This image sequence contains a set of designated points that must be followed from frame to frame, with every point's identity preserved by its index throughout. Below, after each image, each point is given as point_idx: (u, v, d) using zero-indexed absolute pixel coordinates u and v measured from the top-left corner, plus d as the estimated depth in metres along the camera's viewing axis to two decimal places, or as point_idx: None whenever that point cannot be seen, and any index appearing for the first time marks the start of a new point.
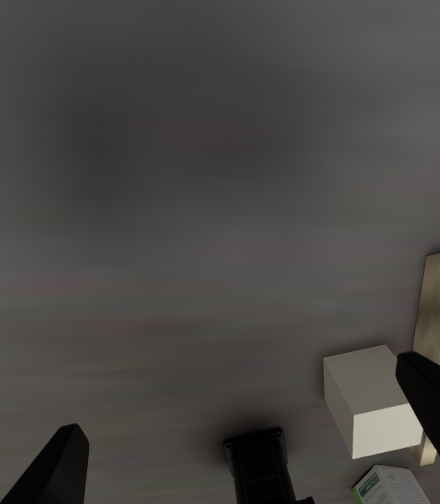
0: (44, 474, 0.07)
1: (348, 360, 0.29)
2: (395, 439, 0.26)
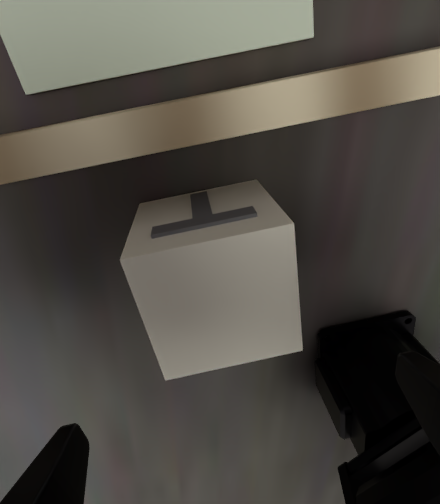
0: (44, 474, 0.07)
1: None
2: (259, 286, 0.12)
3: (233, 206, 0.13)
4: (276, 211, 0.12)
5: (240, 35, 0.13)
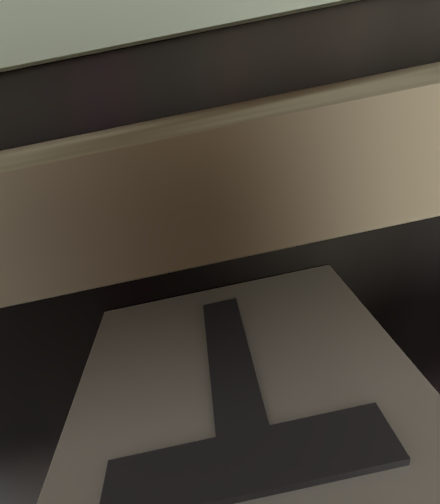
0: None
1: None
2: None
3: (313, 378, 0.05)
4: None
5: None
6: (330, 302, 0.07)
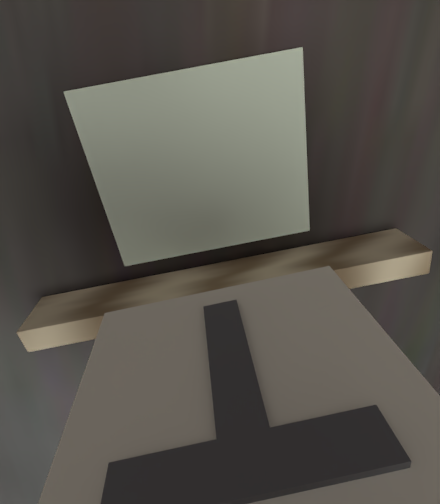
0: None
1: None
2: None
3: (314, 381, 0.05)
4: None
5: (263, 231, 0.20)
6: (330, 303, 0.07)
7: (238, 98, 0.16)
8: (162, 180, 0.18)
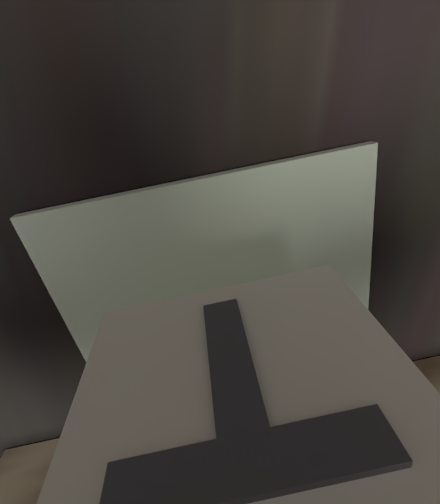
0: None
1: None
2: None
3: (314, 379, 0.05)
4: None
5: None
6: (331, 303, 0.07)
7: (277, 214, 0.11)
8: None
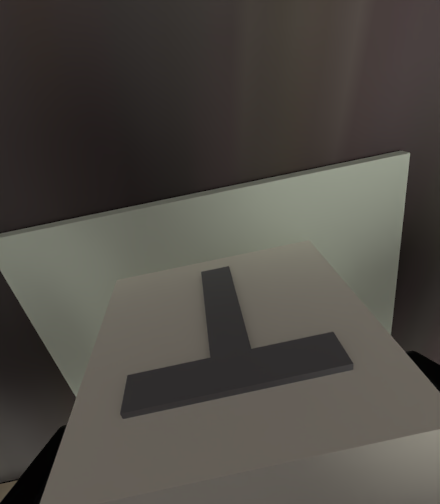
0: (44, 474, 0.07)
1: None
2: None
3: (288, 319, 0.07)
4: (392, 355, 0.05)
5: None
6: (307, 267, 0.08)
7: (292, 234, 0.09)
8: None
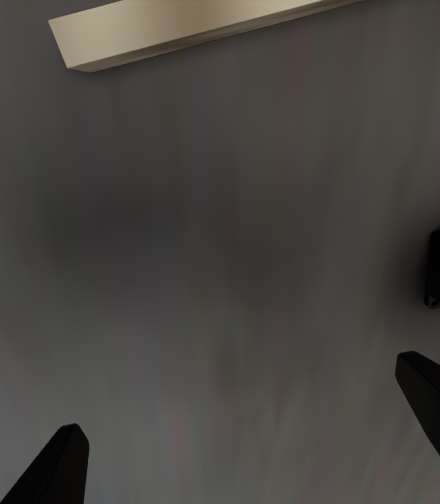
0: (44, 474, 0.07)
1: None
2: None
3: None
4: None
5: None
6: None
7: None
8: None
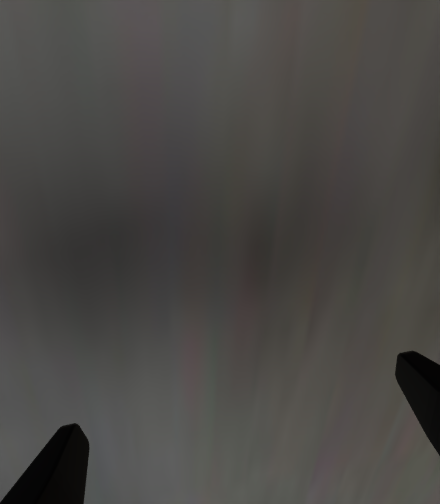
0: (44, 474, 0.07)
1: None
2: None
3: None
4: None
5: None
6: None
7: None
8: None
